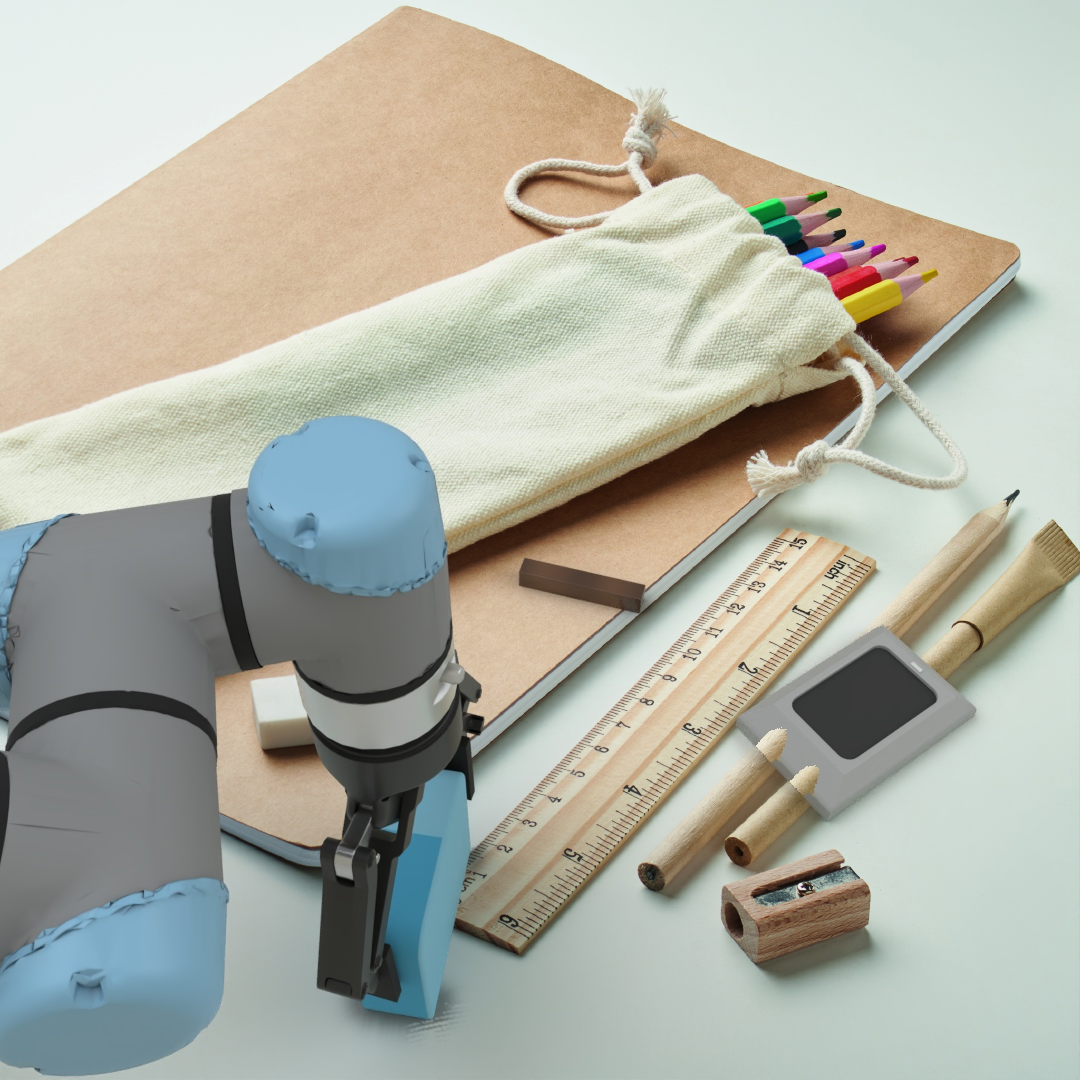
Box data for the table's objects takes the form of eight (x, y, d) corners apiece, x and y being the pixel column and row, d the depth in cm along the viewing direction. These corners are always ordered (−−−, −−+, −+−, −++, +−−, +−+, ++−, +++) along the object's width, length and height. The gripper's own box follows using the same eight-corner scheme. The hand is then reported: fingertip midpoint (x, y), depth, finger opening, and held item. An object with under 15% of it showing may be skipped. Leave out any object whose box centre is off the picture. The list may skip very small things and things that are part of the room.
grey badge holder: (739, 707, 87) (886, 612, 93) (733, 734, 90) (876, 641, 96) (833, 804, 82) (982, 698, 88) (823, 830, 85) (968, 725, 90)
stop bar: (518, 595, 98) (518, 571, 96) (524, 581, 100) (524, 557, 97) (638, 623, 97) (641, 599, 94) (643, 608, 98) (645, 584, 95)
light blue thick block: (408, 843, 84) (393, 751, 75) (472, 853, 83) (465, 762, 74) (363, 1016, 76) (341, 936, 67) (434, 1028, 75) (421, 949, 66)
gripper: (357, 951, 50) (404, 1108, 66) (529, 522, 66) (533, 732, 82) (193, 903, 52) (277, 1069, 67) (399, 495, 67) (428, 707, 83)
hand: (417, 885), depth 75 cm, fingers open, 13 cm apart
